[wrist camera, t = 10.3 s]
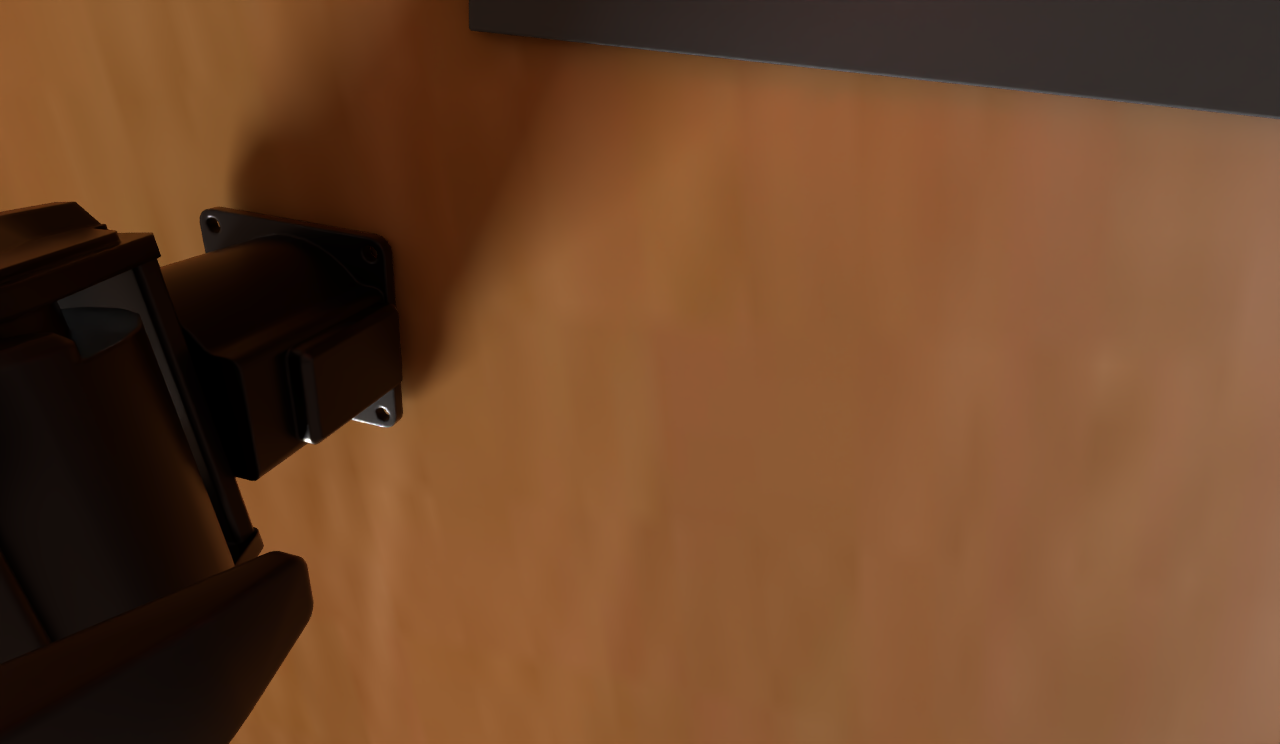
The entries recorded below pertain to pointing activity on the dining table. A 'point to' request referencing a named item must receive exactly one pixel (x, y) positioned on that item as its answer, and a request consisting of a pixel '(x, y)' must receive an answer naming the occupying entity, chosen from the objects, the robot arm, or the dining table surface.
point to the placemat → (954, 41)
